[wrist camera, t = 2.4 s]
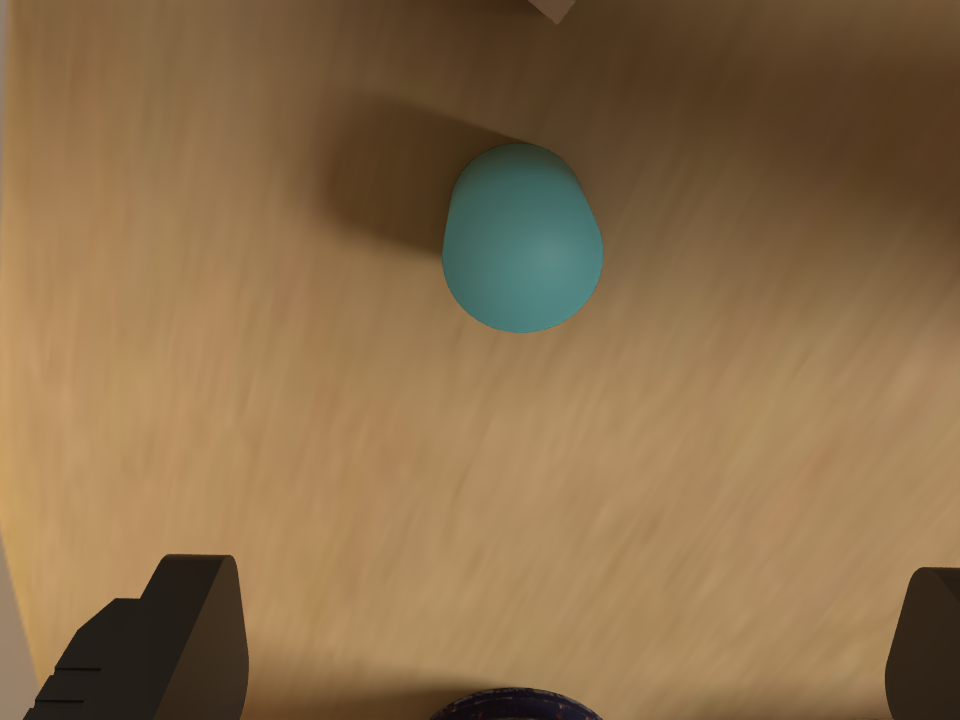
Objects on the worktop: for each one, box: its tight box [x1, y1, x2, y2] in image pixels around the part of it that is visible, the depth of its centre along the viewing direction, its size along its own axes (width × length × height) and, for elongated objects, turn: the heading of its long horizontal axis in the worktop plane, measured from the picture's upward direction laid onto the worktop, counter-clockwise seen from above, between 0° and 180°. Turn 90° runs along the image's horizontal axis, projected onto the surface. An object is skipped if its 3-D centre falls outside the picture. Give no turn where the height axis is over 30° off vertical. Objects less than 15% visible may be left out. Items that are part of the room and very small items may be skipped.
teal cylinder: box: [442, 143, 603, 333], centre depth 26 cm, size 4×4×5 cm
